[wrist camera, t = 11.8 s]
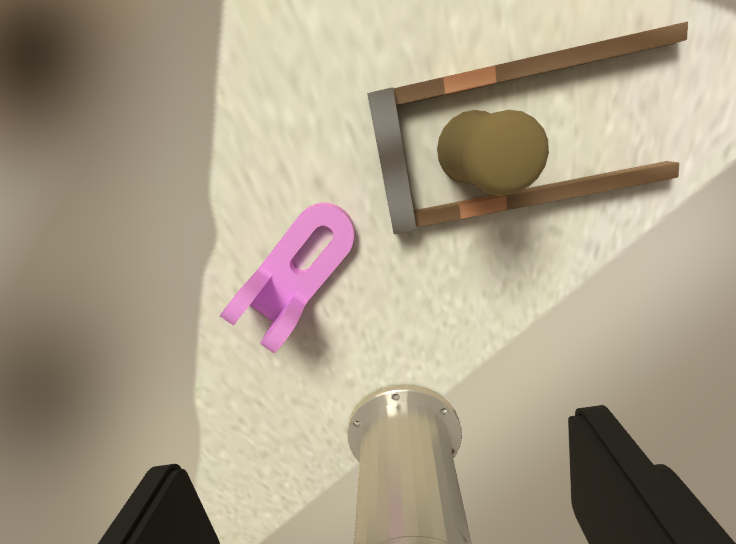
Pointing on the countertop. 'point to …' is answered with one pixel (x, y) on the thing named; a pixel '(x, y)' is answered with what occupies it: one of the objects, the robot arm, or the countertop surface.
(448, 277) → the countertop surface
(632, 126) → the countertop surface
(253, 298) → the bracket
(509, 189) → the cork
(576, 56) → the guide channel
